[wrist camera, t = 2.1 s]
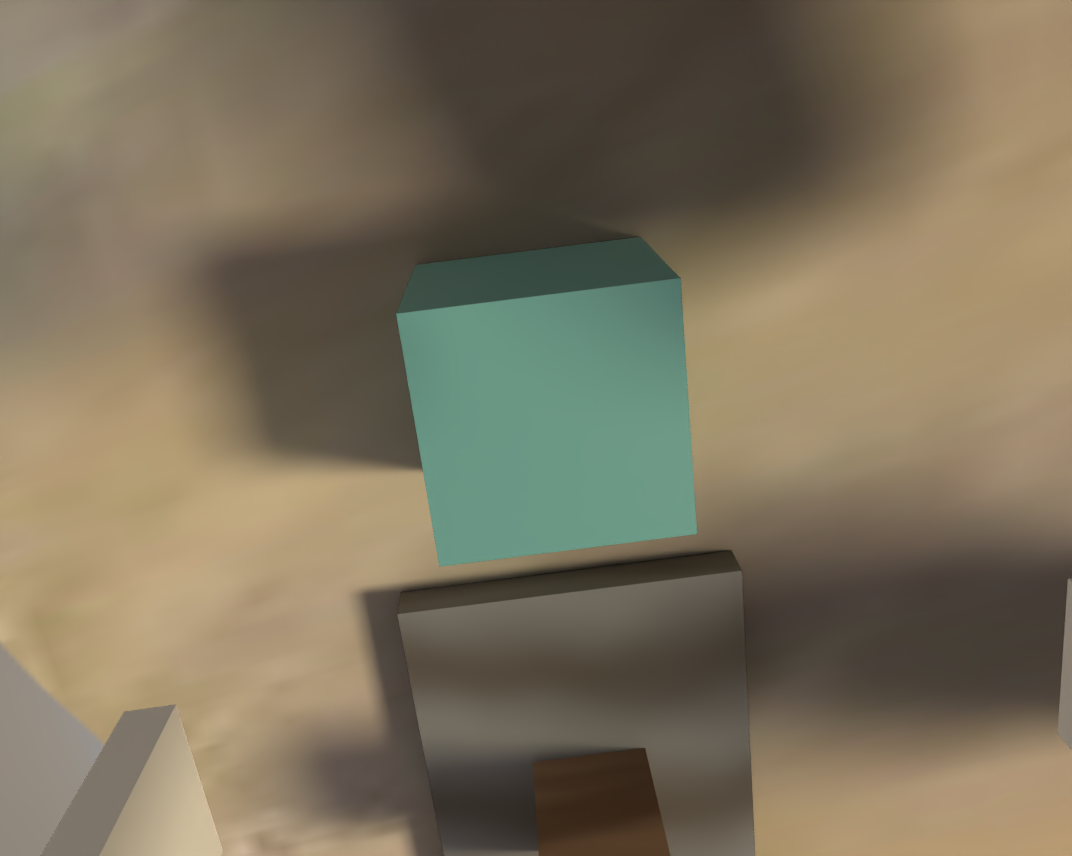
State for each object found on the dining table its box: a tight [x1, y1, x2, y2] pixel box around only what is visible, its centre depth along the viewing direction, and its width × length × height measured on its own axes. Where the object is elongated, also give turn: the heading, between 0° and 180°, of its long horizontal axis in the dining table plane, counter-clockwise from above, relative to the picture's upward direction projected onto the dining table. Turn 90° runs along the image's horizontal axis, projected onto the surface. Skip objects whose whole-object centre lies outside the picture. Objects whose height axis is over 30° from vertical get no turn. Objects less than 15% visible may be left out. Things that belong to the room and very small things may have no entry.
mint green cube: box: [396, 237, 697, 567], centre depth 28 cm, size 7×7×7 cm
